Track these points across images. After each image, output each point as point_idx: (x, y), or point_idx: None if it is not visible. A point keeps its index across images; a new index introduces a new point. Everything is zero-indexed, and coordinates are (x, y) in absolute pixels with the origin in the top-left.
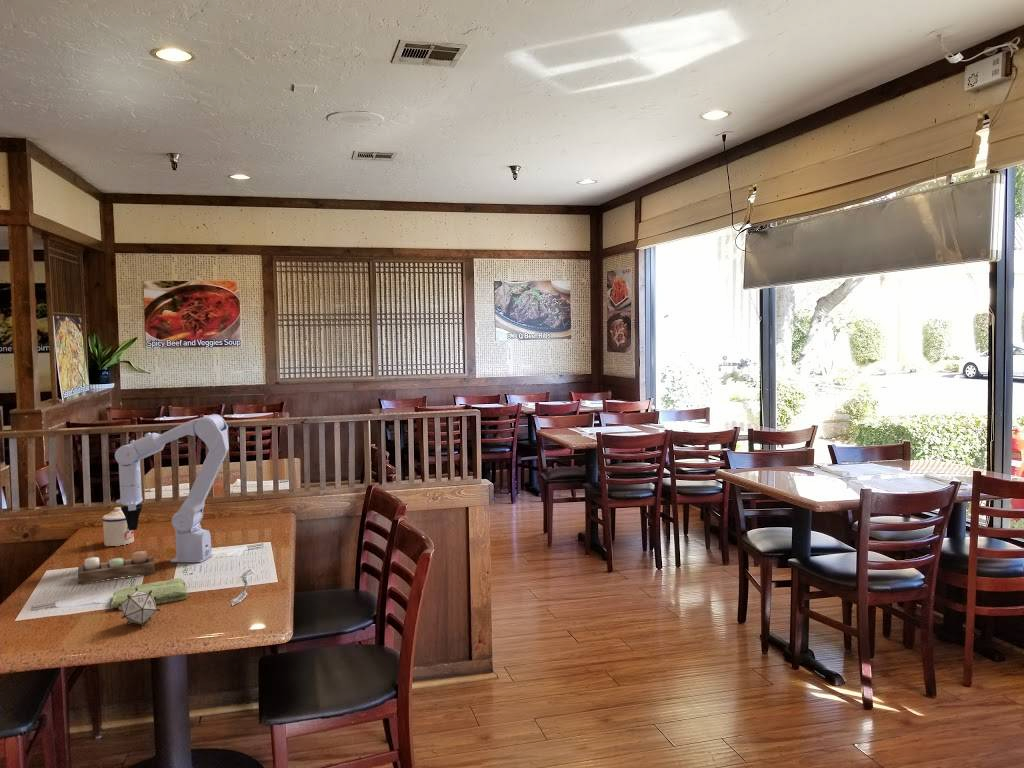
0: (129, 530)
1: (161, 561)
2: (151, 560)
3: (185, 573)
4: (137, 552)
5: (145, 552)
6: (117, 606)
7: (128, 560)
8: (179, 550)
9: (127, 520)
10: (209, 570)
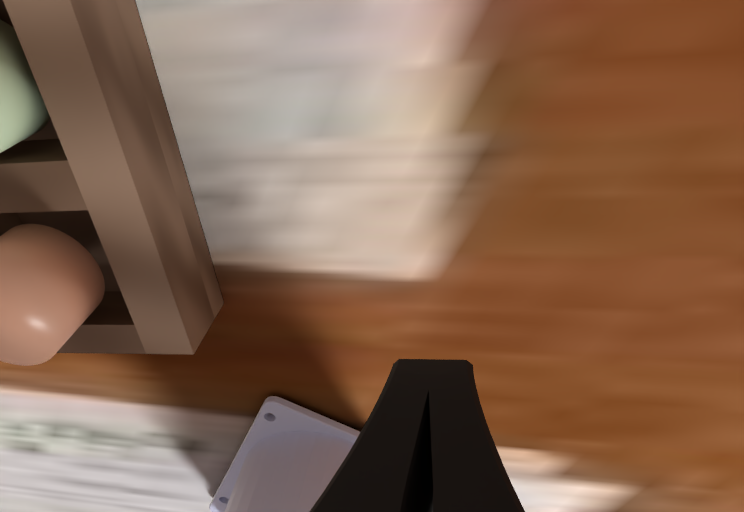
0: (396, 362)
1: (331, 350)
2: (66, 341)
3: (32, 428)
4: (10, 305)
5: (5, 358)
6: None
7: (91, 189)
8: (238, 499)
9: (320, 507)
10: (71, 507)
